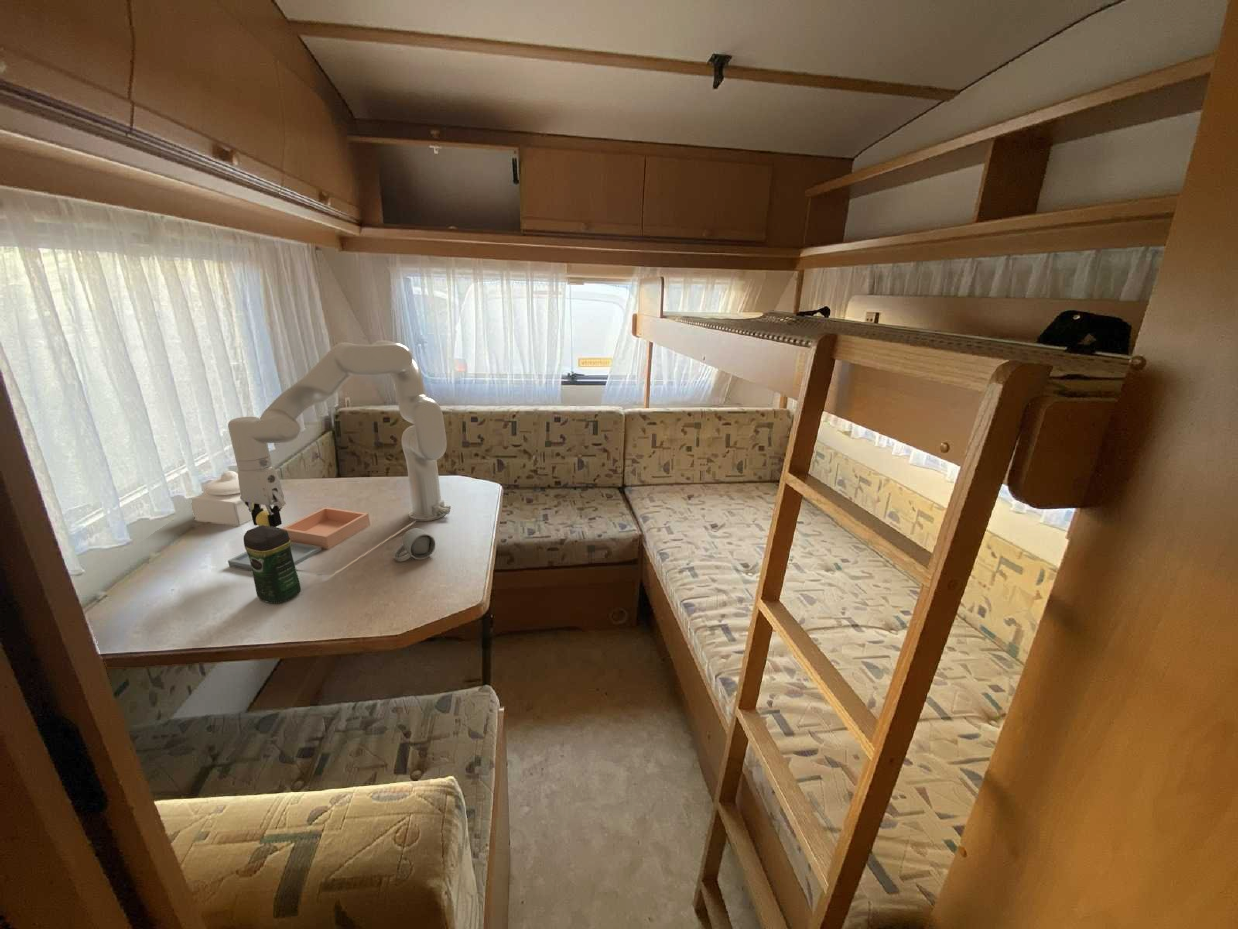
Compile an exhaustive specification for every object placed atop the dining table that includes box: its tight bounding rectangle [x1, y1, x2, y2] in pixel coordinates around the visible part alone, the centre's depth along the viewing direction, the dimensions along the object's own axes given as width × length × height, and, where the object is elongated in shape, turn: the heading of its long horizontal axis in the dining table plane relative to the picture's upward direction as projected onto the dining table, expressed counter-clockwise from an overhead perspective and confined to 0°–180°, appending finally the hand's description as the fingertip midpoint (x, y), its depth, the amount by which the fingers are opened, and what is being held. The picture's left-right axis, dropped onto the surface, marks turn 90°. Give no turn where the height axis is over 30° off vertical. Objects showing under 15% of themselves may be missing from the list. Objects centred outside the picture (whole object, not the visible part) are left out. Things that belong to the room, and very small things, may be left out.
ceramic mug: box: [393, 527, 436, 563], centre depth 147 cm, size 11×8×8 cm
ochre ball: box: [256, 510, 270, 527], centre depth 140 cm, size 5×5×5 cm
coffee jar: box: [243, 525, 302, 604], centre depth 125 cm, size 10×8×19 cm
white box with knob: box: [190, 470, 274, 527], centre depth 171 cm, size 18×18×16 cm
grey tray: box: [227, 541, 323, 572], centre depth 144 cm, size 18×14×2 cm
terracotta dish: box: [281, 506, 371, 550], centre depth 158 cm, size 17×17×5 cm
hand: (267, 524), depth 140 cm, fingers closed on ochre ball, 4 cm apart
